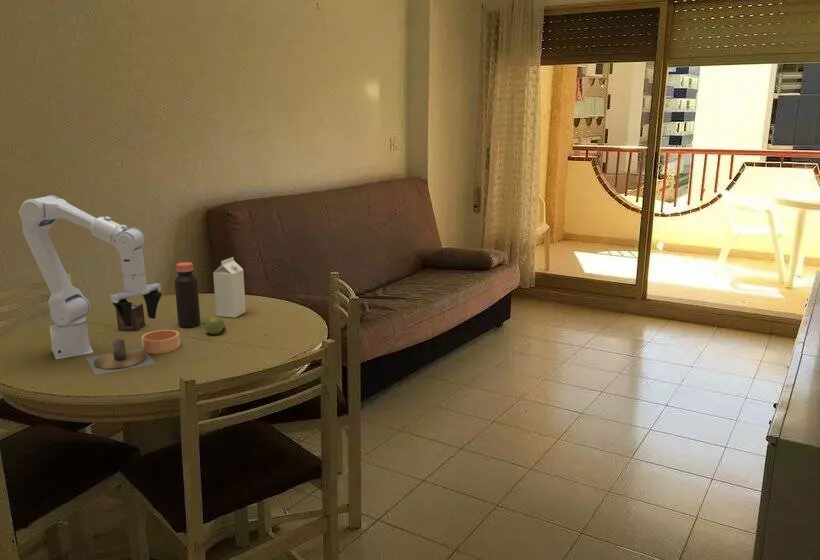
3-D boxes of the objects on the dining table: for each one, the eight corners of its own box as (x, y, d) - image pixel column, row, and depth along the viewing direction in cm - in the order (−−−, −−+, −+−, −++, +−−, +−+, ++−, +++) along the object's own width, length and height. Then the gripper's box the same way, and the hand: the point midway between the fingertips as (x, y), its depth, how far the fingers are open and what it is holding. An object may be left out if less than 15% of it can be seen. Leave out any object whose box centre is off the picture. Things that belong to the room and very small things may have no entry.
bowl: (147, 357, 185) (146, 343, 184) (139, 346, 193) (138, 333, 192) (184, 350, 190) (183, 336, 189) (174, 340, 198) (173, 327, 197)
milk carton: (216, 316, 222) (212, 260, 217) (227, 310, 229) (224, 256, 224) (234, 318, 220) (231, 262, 215) (246, 312, 227) (242, 257, 222)
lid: (98, 373, 172) (96, 352, 171) (90, 358, 183) (88, 339, 181) (151, 363, 179) (149, 343, 178) (140, 349, 190) (138, 330, 188)
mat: (95, 376, 171) (95, 375, 171) (86, 359, 183) (85, 357, 183) (156, 364, 179) (155, 363, 179) (143, 349, 191) (143, 347, 191)
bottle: (178, 322, 215) (173, 262, 210) (200, 320, 217) (195, 260, 212) (178, 329, 209) (172, 266, 204) (200, 327, 211) (195, 265, 206)
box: (145, 325, 213) (143, 303, 211) (136, 331, 207) (134, 308, 205) (127, 324, 213) (125, 302, 211) (117, 330, 207) (115, 308, 206)
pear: (202, 318, 201) (209, 314, 211) (203, 335, 202) (210, 331, 211) (221, 317, 202) (227, 313, 212) (222, 335, 202) (228, 330, 212)
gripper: (119, 281, 172) (126, 331, 176) (166, 269, 184) (171, 316, 188) (103, 278, 176) (109, 327, 179) (149, 267, 188) (155, 313, 191)
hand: (140, 321), depth 184 cm, fingers open, 7 cm apart
